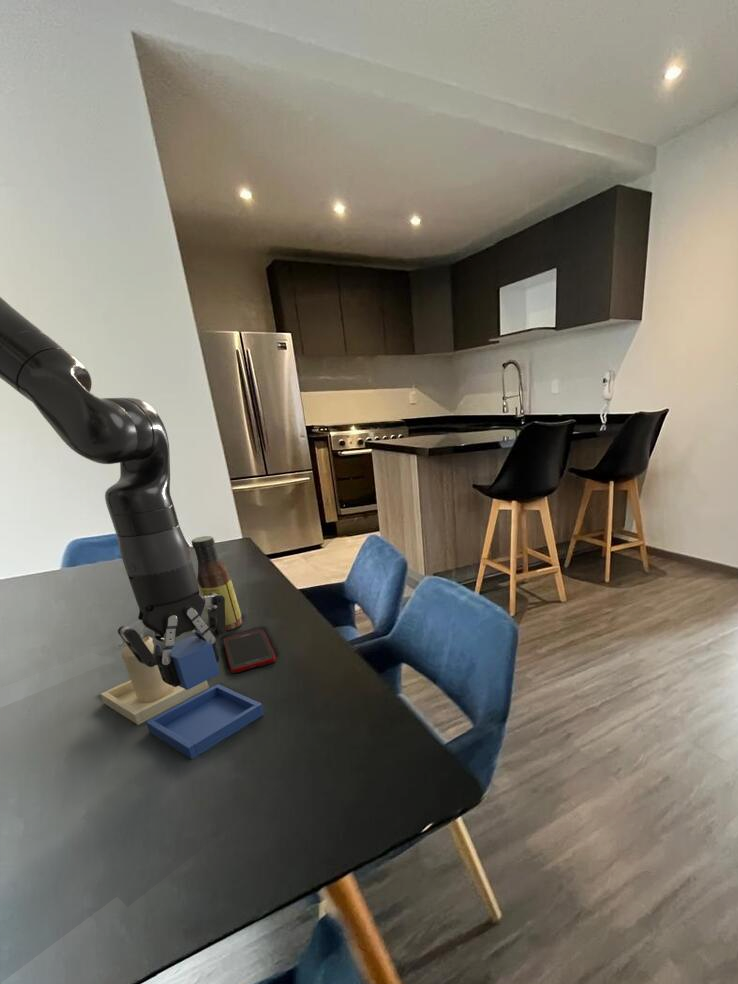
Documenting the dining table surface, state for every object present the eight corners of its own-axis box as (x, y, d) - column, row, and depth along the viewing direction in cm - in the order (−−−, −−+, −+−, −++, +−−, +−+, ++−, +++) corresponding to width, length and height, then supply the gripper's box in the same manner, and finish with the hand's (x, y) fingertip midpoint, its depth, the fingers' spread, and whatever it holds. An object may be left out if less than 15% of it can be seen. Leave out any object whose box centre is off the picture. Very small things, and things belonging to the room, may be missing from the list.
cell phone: (232, 675, 86) (230, 670, 86) (223, 642, 98) (222, 638, 98) (277, 662, 89) (276, 657, 89) (263, 632, 102) (262, 628, 101)
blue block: (187, 690, 67) (177, 658, 66) (168, 681, 70) (158, 650, 68) (220, 673, 71) (211, 642, 69) (201, 665, 74) (192, 635, 72)
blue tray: (191, 759, 66) (188, 748, 65) (149, 732, 72) (145, 721, 72) (264, 714, 75) (261, 703, 74) (220, 693, 81) (218, 683, 80)
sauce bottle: (229, 618, 110) (207, 532, 102) (249, 622, 107) (228, 534, 99) (204, 631, 104) (178, 541, 97) (225, 635, 102) (200, 543, 94)
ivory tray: (138, 725, 74) (134, 714, 74) (104, 703, 81) (100, 693, 80) (209, 688, 83) (206, 678, 82) (173, 671, 89) (170, 661, 88)
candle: (131, 696, 81) (111, 643, 77) (164, 681, 85) (147, 629, 81) (147, 706, 78) (128, 651, 74) (181, 689, 82) (164, 636, 78)
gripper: (195, 545, 71) (223, 648, 78) (85, 576, 61) (129, 693, 67) (225, 551, 67) (252, 659, 74) (113, 585, 57) (156, 708, 63)
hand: (193, 674), depth 71 cm, fingers closed on blue block, 5 cm apart
